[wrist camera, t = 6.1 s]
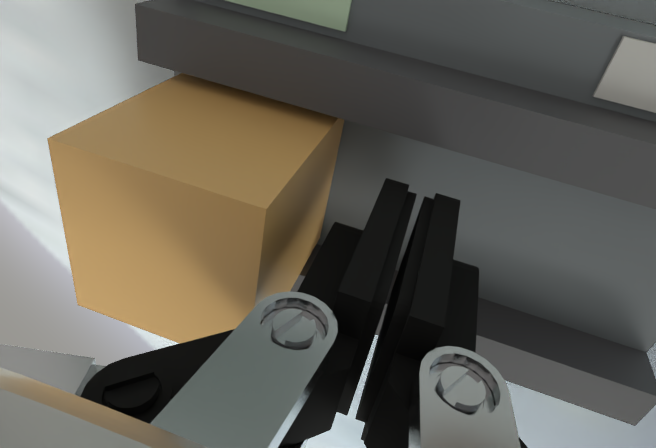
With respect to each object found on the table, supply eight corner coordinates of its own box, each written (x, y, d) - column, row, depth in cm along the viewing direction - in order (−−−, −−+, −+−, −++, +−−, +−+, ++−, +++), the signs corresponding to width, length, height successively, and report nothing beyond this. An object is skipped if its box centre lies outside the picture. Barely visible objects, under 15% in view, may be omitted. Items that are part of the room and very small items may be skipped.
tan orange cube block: (347, 107, 12) (266, 209, 7) (319, 237, 14) (246, 368, 10) (197, 65, 12) (47, 138, 8) (195, 196, 14) (77, 305, 10)
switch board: (812, 62, 10) (934, 117, 7) (586, 360, 16) (605, 456, 13) (216, -79, 12) (130, -78, 9) (205, 232, 18) (151, 291, 15)
